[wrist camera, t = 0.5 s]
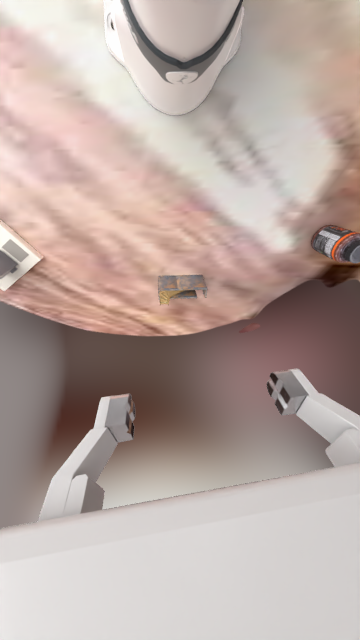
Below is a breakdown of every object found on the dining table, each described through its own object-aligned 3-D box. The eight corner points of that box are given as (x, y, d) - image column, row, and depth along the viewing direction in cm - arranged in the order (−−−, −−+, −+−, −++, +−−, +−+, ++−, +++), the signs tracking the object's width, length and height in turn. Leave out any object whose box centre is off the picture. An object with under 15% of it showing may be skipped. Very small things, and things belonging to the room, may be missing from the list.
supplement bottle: (341, 226, 45) (386, 239, 36) (326, 251, 48) (363, 269, 39) (319, 222, 44) (359, 235, 35) (305, 248, 47) (338, 266, 38)
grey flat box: (159, 285, 51) (159, 306, 43) (158, 275, 49) (158, 294, 41) (200, 284, 52) (207, 304, 44) (201, 274, 50) (209, 292, 42)
